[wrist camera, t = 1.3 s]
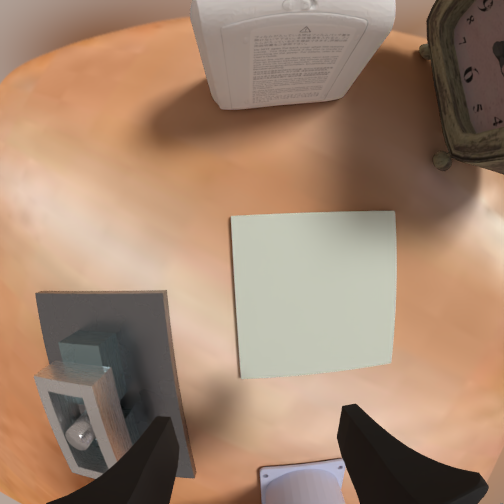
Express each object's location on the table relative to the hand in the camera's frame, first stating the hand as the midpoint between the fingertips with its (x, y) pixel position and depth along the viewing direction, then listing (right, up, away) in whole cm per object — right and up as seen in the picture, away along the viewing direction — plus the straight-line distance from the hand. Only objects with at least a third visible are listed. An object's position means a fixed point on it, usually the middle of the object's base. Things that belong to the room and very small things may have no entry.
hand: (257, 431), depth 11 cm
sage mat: (+5, +4, +10) cm, 12 cm away
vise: (-12, -5, +11) cm, 17 cm away
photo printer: (+2, +20, +10) cm, 22 cm away
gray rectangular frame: (-12, -5, +7) cm, 15 cm away
